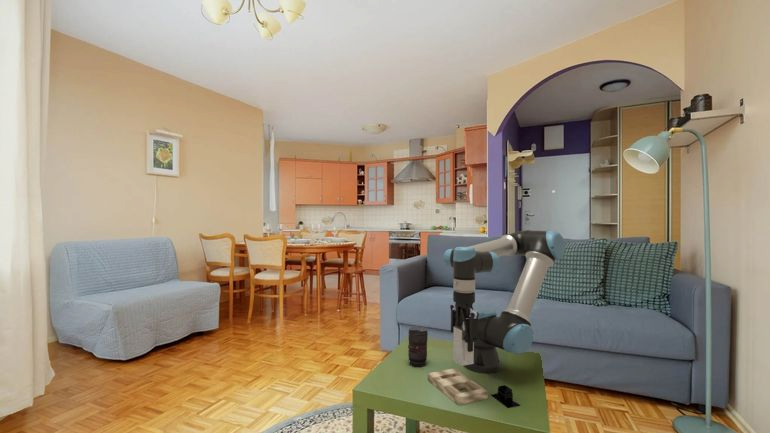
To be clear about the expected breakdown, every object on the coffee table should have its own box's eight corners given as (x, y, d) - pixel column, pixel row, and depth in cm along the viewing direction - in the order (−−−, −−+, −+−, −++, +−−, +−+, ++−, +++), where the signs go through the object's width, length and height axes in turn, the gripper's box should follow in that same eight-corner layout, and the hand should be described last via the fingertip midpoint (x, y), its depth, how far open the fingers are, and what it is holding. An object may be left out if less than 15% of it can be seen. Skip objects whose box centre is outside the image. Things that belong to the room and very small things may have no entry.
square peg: (464, 358, 126) (465, 325, 126) (473, 363, 121) (473, 329, 121) (453, 360, 124) (453, 326, 124) (461, 365, 119) (462, 330, 119)
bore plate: (453, 374, 138) (453, 368, 138) (487, 398, 120) (487, 391, 120) (427, 380, 133) (427, 373, 133) (458, 405, 115) (458, 397, 115)
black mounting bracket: (485, 394, 124) (485, 381, 124) (502, 391, 126) (502, 378, 126) (508, 412, 112) (508, 398, 112) (527, 408, 114) (527, 394, 114)
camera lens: (426, 368, 144) (426, 332, 144) (407, 366, 145) (407, 330, 146) (428, 360, 152) (428, 326, 152) (409, 359, 153) (409, 325, 154)
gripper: (441, 287, 130) (440, 350, 129) (471, 296, 113) (470, 368, 113) (457, 285, 133) (457, 347, 132) (489, 295, 116) (489, 365, 116)
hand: (463, 357), depth 123 cm, fingers closed on square peg, 5 cm apart
